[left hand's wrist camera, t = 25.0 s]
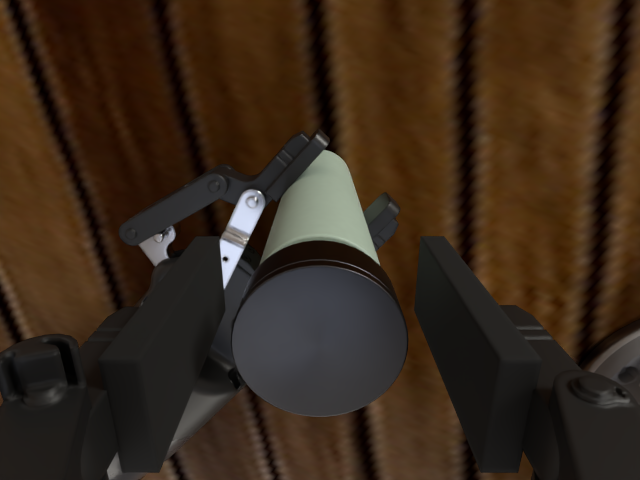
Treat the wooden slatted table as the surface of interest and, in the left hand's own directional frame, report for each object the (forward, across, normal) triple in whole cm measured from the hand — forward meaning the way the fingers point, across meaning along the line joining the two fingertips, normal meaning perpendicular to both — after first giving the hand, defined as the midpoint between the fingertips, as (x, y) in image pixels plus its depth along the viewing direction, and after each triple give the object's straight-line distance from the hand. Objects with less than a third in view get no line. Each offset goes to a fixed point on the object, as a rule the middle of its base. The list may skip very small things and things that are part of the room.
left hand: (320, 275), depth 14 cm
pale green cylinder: (+14, 0, 0) cm, 14 cm away
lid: (-4, 0, 0) cm, 4 cm away
